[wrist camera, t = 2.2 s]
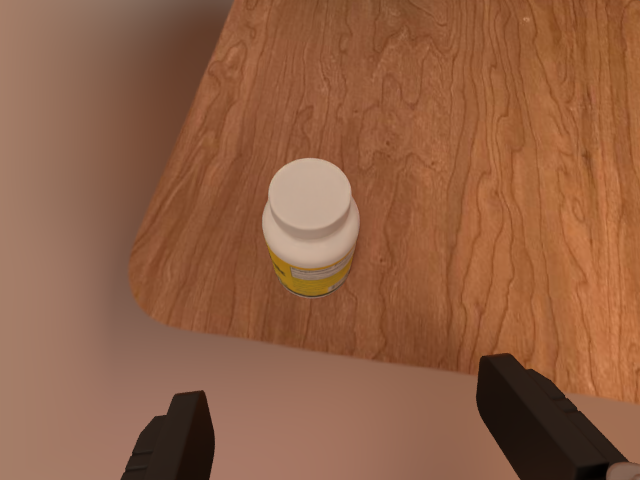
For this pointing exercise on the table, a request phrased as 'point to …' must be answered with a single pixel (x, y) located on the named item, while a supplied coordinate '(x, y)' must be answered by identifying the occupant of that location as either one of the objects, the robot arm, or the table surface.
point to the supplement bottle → (311, 227)
